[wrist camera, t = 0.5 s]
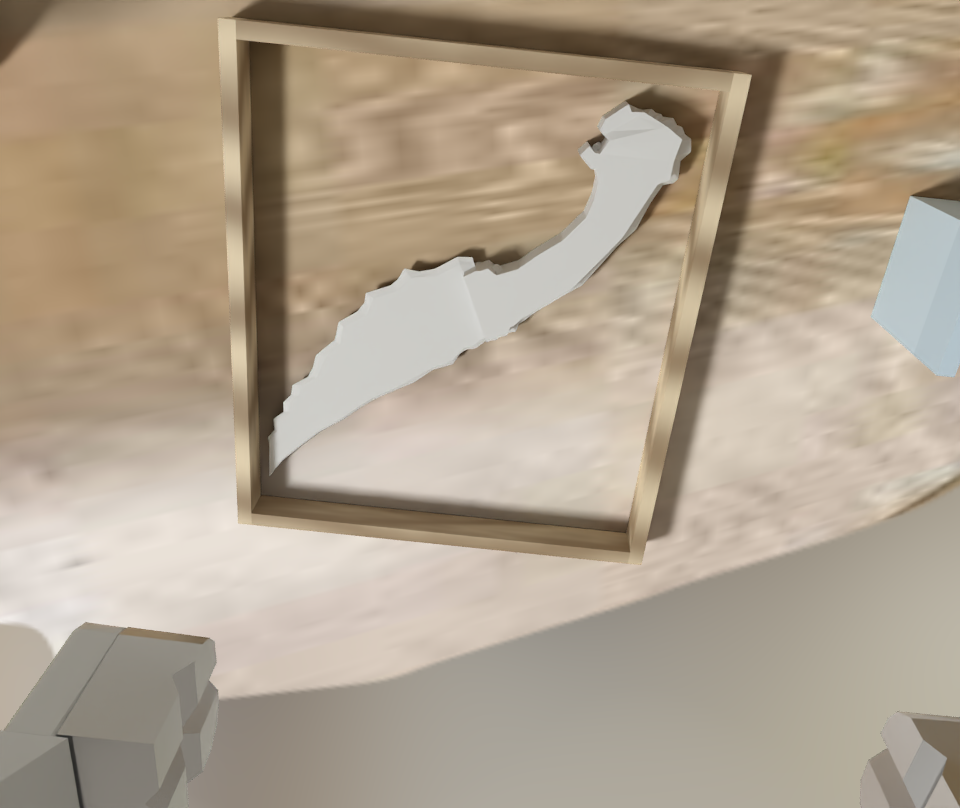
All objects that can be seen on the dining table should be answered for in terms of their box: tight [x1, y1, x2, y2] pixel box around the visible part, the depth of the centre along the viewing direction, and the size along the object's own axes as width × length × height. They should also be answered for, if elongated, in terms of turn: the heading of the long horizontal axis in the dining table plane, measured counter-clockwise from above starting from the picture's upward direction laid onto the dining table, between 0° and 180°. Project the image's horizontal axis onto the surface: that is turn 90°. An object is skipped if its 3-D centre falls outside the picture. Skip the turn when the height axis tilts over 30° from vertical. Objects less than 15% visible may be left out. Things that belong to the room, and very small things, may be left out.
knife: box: [268, 101, 691, 477], centre depth 55 cm, size 37×8×2 cm, turn 127°
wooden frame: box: [218, 17, 752, 565], centre depth 55 cm, size 34×30×2 cm
